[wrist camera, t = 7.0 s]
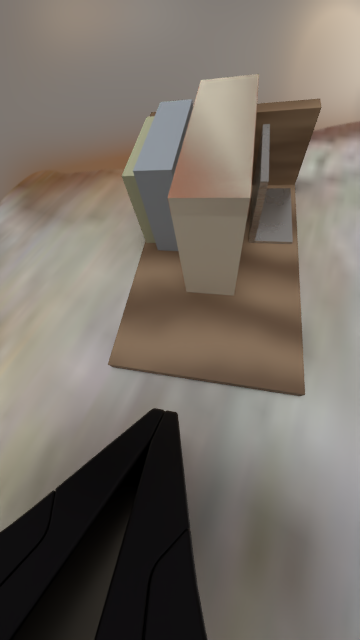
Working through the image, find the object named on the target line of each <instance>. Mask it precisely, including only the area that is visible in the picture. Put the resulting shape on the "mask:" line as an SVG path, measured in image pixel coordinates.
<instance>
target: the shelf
mask: <svg viewBox="0 0 360 640" xmlns="http://www.w3.org/2000/svg"><path fill="white" fill-rule="evenodd" d="M320 110H321V102H320V99H311V100H300V101H299V100H298V101H286V102H274V103H261V104H257V111H256V126H255V140H254V155H253V170H252V185H251V195H252V187H253V181H254V175H255V169H256V163H257V157H258V151H259V145H260V139H261V133H262V127H263V124H270V143H269V182H268V187H267V188H291V211H292V238H293V242H292V244H271V243H248V241H249V226H250V211H251V198H250V204H249V210H248V216H247V220H246V226H245V232H244V238H243V244H242V250H241V256H240V262H239V268H238V274H237V280H236V286H235V292H234V296H233V295H220V294H208V293H195V292H187V291H186V286H185V281H184V276H183V271H182V266H181V261H180V256H179V251H165V250H158V249H157V245H156V243H146V241H145V245H144V248H143V251H142V254H141V258H140V261H139V264H138V267H137V271H136V274H135V277H134V281H133V284H132V287H131V290H130V294H129V297H128V300H127V303H126V307H125V310H124V313H123V317H122V320H121V323H120V326H119V330H118V333H117V336H116V339H115V343H114V346H113V349H112V353H111V356H110V359H109V362H108V365H110V366H112V367H116V368H123V369H129V370H135V371H142V372H148V373H155V374H161V375H168V376H174V377H180V378H187V379H193V380H200V381H206V382H213V383H219V384H225V385H232V386H238V387H245V388H251V389H258V390H264V391H270V392H277V393H283V394H290V395H296V396H302V395H305V385H304V364H303V344H302V323H301V303H300V283H299V262H298V242H297V221H296V201H295V182H296V180H297V177H298V174H299V171H300V168H301V165H302V162H303V159H304V156H305V153H306V151H307V148H308V145H309V142H310V139H311V136H312V133H313V130H314V127H315V124H316V122H317V118H318V116H319V113H320ZM155 114H156V112H152V113H151V114H150V117H152V116H155Z"/></svg>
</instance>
